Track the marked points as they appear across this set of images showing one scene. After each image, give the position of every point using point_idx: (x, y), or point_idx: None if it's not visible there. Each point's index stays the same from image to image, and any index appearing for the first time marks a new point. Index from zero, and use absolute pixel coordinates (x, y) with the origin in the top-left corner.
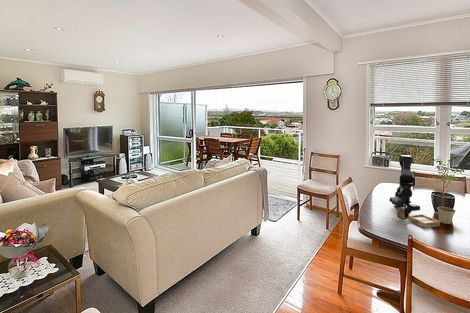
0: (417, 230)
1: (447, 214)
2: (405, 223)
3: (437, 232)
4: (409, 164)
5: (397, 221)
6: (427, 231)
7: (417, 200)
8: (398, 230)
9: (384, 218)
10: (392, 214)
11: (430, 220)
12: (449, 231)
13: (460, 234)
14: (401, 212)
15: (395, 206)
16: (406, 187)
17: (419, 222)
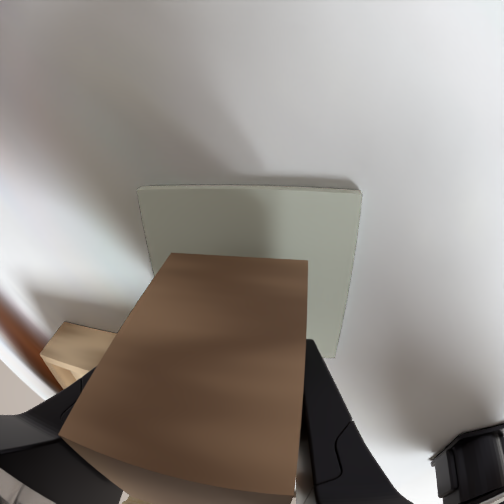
0: (9, 220)
1: (127, 499)
2: (151, 243)
3: (18, 324)
4: None
5: (237, 186)
6: (12, 281)
7: (439, 498)
8: (10, 16)
9: (429, 79)
10: (464, 325)
11: None
12: (53, 385)
13: (35, 386)
14: (154, 361)
15: (499, 429)
16: None
17: (95, 356)
